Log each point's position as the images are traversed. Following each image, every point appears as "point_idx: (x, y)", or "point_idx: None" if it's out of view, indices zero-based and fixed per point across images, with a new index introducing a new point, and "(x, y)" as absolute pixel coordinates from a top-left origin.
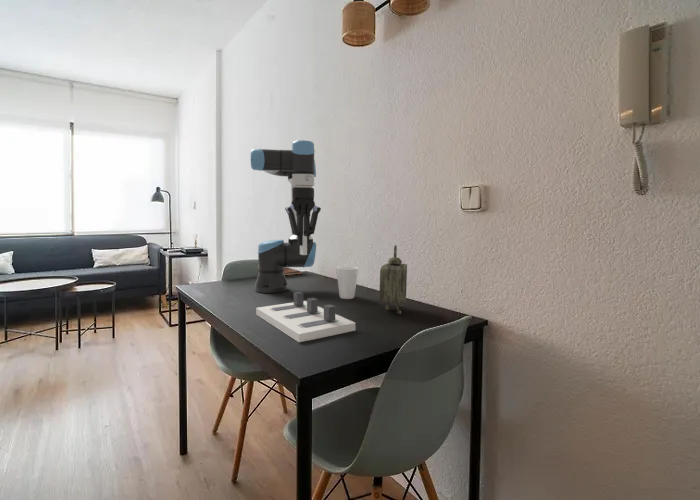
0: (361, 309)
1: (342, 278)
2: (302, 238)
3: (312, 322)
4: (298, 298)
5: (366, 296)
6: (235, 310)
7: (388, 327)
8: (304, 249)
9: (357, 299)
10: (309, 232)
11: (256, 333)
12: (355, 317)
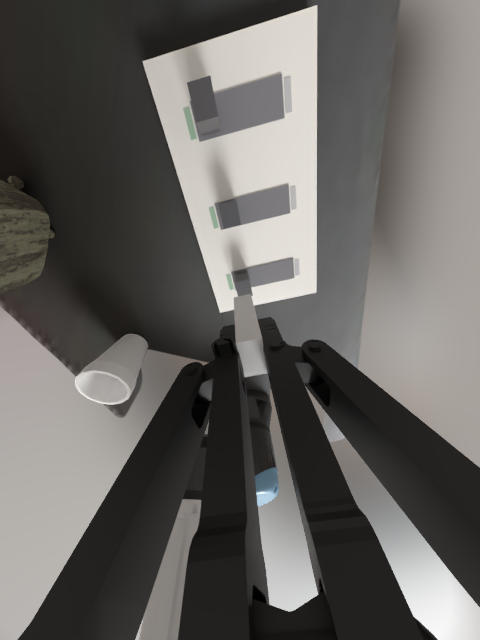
0: (114, 257)
1: (127, 361)
2: (262, 338)
3: (252, 117)
4: (245, 276)
5: (95, 339)
6: (331, 320)
7: (54, 62)
8: (246, 304)
9: (115, 326)
10: (216, 365)
11: (357, 160)
12: (135, 200)
